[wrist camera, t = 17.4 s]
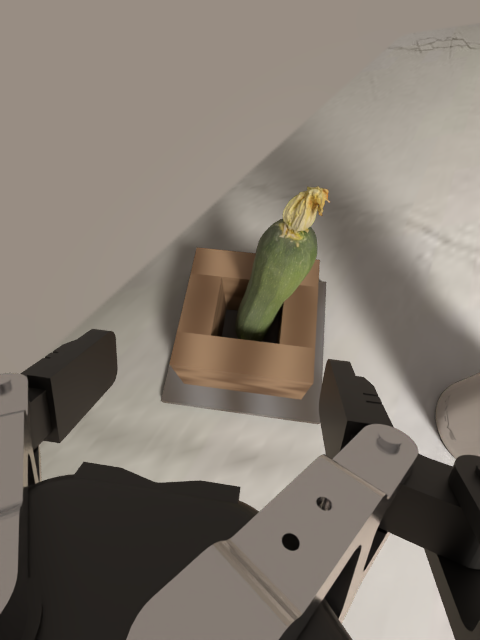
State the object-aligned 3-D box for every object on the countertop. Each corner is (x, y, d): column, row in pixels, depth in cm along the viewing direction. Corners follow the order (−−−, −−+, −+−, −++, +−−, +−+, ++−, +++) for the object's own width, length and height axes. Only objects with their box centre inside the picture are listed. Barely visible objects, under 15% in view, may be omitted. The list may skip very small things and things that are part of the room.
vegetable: (231, 319, 37) (280, 147, 20) (269, 323, 37) (347, 159, 21) (229, 355, 34) (284, 194, 18) (270, 358, 35) (360, 206, 18)
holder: (324, 286, 40) (341, 245, 32) (318, 424, 33) (337, 411, 26) (193, 272, 41) (181, 229, 34) (163, 402, 34) (140, 384, 27)
